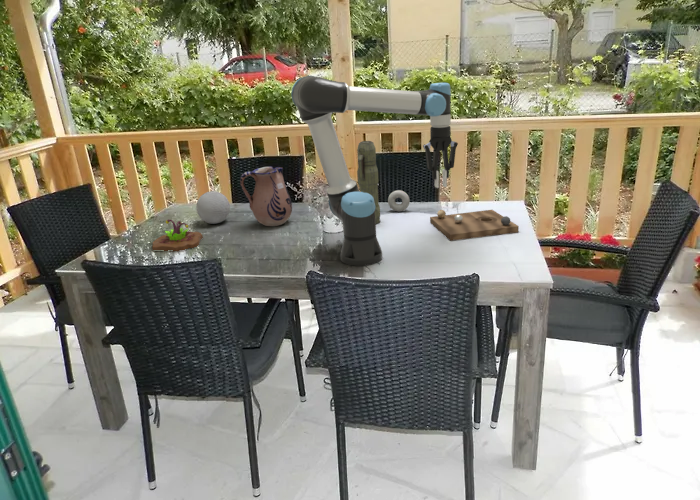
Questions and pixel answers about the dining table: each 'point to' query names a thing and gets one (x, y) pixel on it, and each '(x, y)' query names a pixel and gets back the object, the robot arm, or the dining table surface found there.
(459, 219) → the steel ball
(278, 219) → the ceramic pitcher
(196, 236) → the plant
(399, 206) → the donut
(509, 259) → the dining table surface
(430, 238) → the dining table surface
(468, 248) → the dining table surface
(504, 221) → the black rubber ball
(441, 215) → the beech ball
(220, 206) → the decorative ball
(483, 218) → the walnut plate
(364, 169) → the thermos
